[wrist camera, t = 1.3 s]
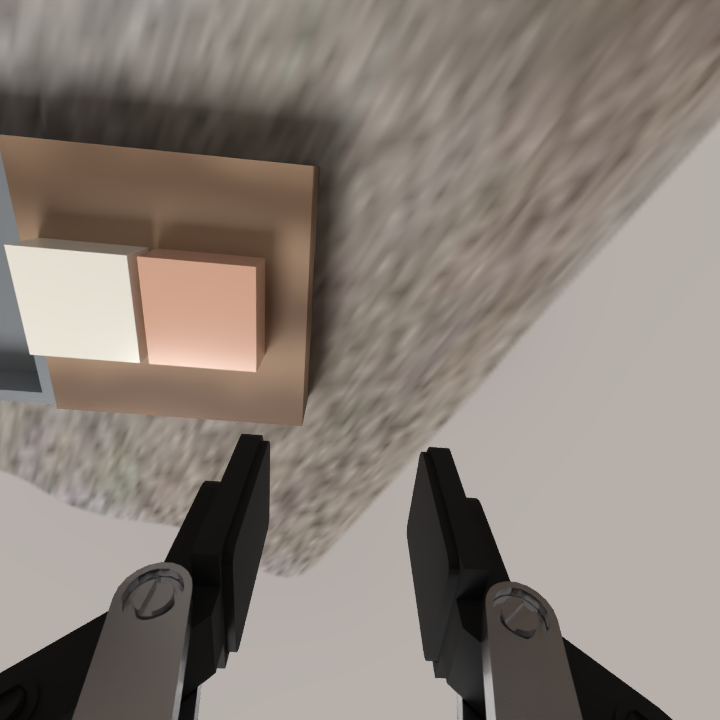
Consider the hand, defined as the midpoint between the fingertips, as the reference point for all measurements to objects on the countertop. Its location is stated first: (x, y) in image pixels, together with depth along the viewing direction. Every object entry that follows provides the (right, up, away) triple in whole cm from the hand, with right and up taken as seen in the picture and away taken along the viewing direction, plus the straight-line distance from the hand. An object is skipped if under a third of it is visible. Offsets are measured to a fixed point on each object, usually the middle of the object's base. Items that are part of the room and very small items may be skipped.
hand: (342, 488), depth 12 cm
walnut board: (-11, +9, +17) cm, 22 cm away
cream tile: (-15, +7, +13) cm, 21 cm away
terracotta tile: (-8, +7, +14) cm, 17 cm away
